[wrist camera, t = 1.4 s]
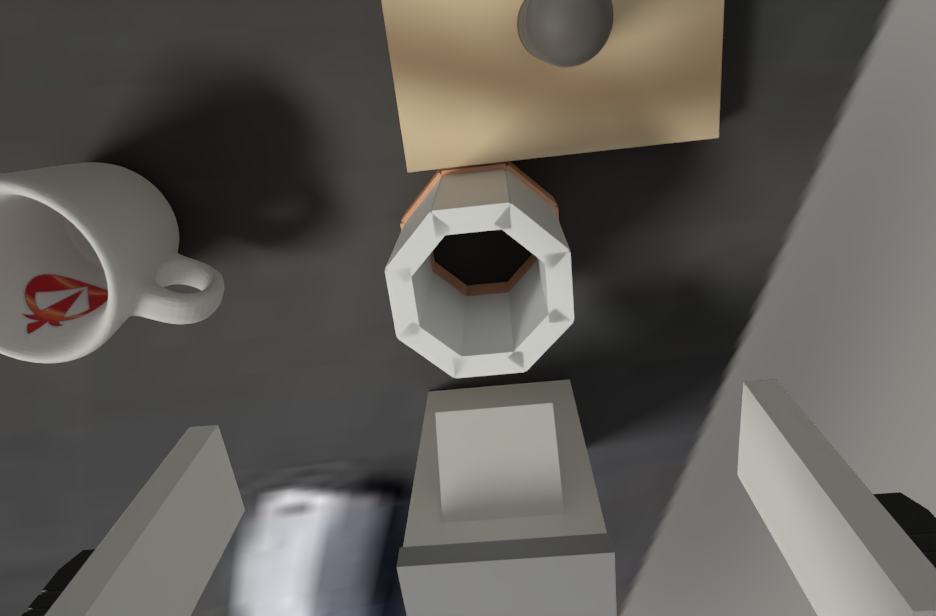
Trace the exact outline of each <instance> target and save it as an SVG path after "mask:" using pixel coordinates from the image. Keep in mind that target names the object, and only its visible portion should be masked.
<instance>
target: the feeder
mask: <svg viewBox="0 0 936 616" xmlns="http://www.w3.org/2000/svg"><path fill="white" fill-rule="evenodd" d="M397 571H398V576H399V581H400V586H401V590H402V595H403V600H404V605H405V609H406V614H407V616H617V615H616V583H615V552H614V548H613V544H612V540H611V536H610V533H607V532H606V528H605V524H604V520H603V516H602V512H601V507H600V503H599V499H598V495H597V491H596V487H595V482H594V478H593V474H592V470H591V466H590V462H589V457H588V453H587V449H586V445H585V441H584V437H583V433H582V428H581V424H580V420H579V416H578V412H577V408H576V403H575V399H574V395H573V391H572V387H571V383H570V379H568V380H557V381H545V382H534V383H522V384H510V385H499V386H487V387H475V388H464V389H452V390H441V391H429V392H428V398H427V404H426V410H425V416H424V422H423V428H422V435H421V441H420V447H419V453H418V459H417V465H416V471H415V477H414V484H413V490H412V496H411V502H410V508H409V514H408V520H407V527H406V533H405V539H404V545H403V547H400V550H399V556H398V562H397Z"/></svg>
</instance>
